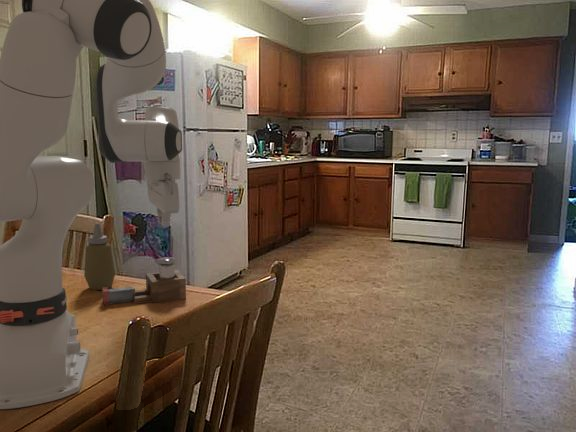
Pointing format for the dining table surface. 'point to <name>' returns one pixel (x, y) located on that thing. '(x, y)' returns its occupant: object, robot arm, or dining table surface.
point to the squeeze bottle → (99, 261)
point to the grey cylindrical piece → (166, 267)
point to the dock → (162, 289)
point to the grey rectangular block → (118, 295)
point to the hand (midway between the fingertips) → (164, 225)
